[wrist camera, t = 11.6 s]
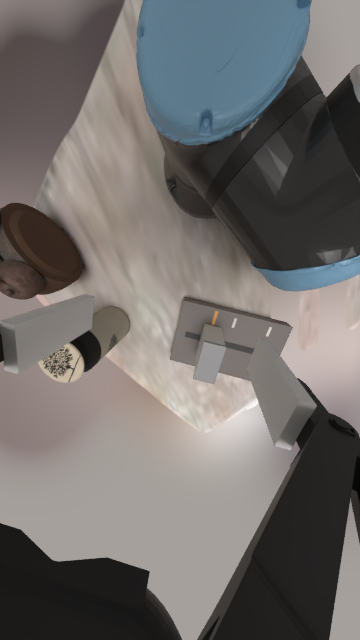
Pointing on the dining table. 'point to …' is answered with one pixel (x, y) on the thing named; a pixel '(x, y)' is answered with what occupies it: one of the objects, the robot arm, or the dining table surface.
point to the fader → (209, 354)
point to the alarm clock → (34, 253)
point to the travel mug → (87, 346)
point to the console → (226, 334)
